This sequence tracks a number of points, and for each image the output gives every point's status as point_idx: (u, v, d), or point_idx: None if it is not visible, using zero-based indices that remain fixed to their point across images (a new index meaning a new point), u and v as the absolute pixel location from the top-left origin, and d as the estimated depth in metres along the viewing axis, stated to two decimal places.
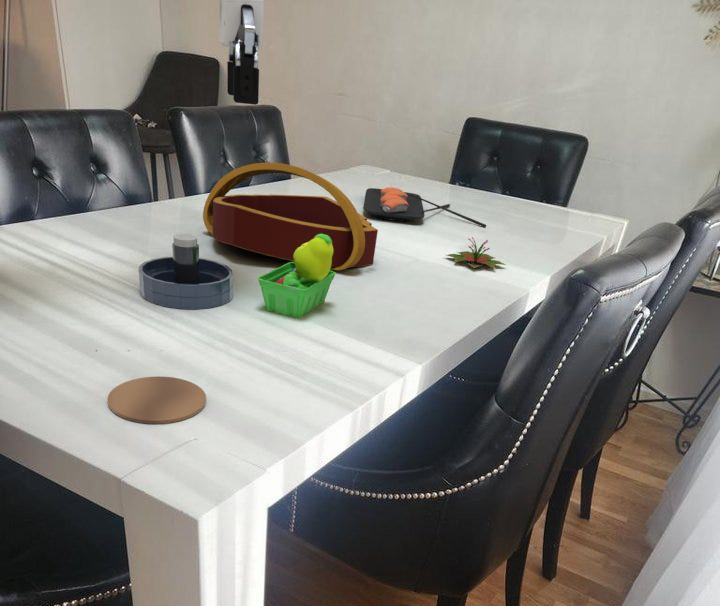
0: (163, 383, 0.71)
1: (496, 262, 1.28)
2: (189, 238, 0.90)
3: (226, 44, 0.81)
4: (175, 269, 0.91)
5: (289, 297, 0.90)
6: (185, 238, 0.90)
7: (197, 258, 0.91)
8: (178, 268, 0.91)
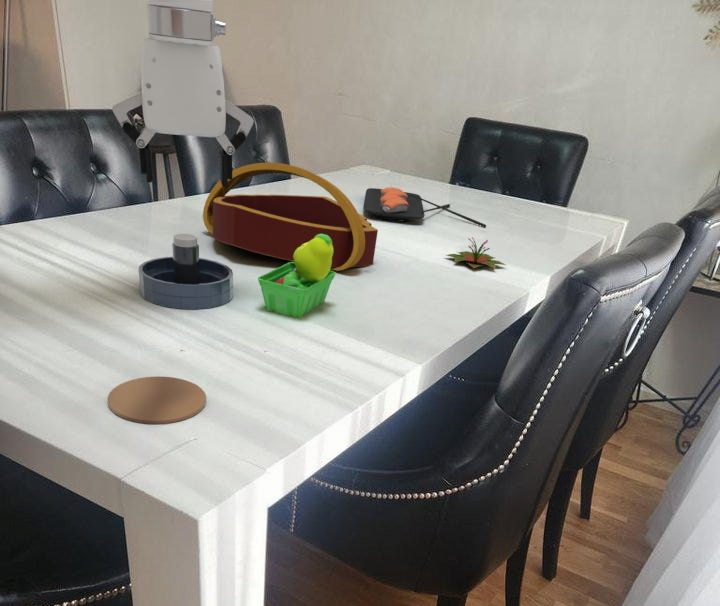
0: (163, 383, 0.71)
1: (496, 262, 1.28)
2: (189, 238, 0.90)
3: None
4: (175, 269, 0.91)
5: (289, 297, 0.90)
6: (185, 238, 0.90)
7: (197, 258, 0.91)
8: (178, 268, 0.91)
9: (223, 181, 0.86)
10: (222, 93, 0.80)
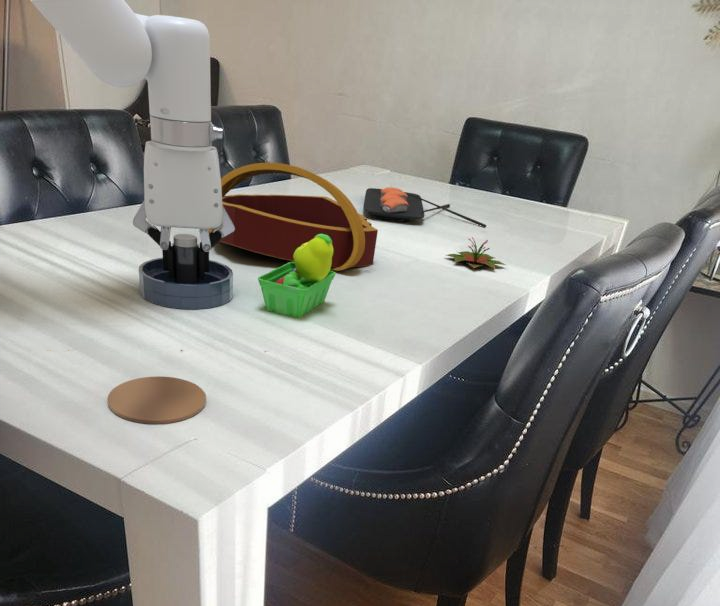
0: (163, 383, 0.71)
1: (496, 262, 1.28)
2: (189, 238, 0.90)
3: None
4: (175, 269, 0.91)
5: (289, 297, 0.90)
6: (185, 238, 0.90)
7: (197, 258, 0.91)
8: (178, 268, 0.91)
9: (200, 275, 0.92)
10: (219, 191, 0.86)
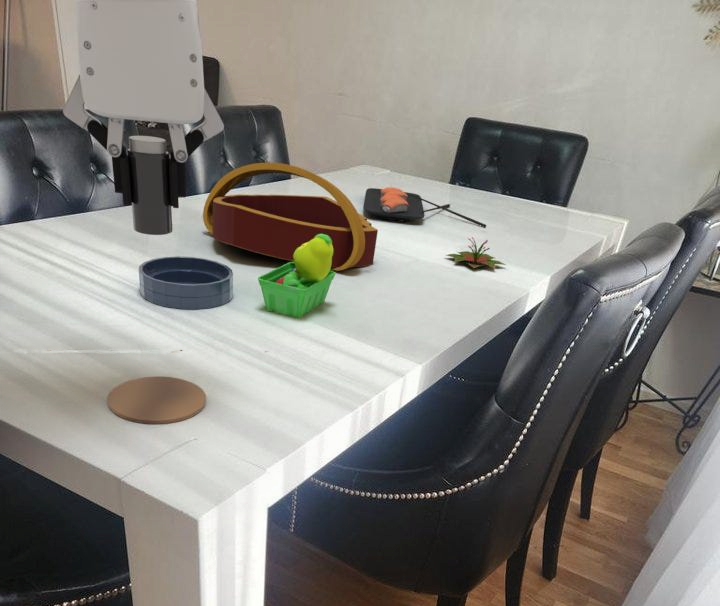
0: (163, 383, 0.71)
1: (496, 262, 1.28)
2: (153, 140, 0.58)
3: None
4: (133, 190, 0.60)
5: (289, 297, 0.90)
6: (146, 139, 0.58)
7: (166, 173, 0.60)
8: (137, 187, 0.59)
9: (172, 200, 0.61)
10: (198, 59, 0.55)
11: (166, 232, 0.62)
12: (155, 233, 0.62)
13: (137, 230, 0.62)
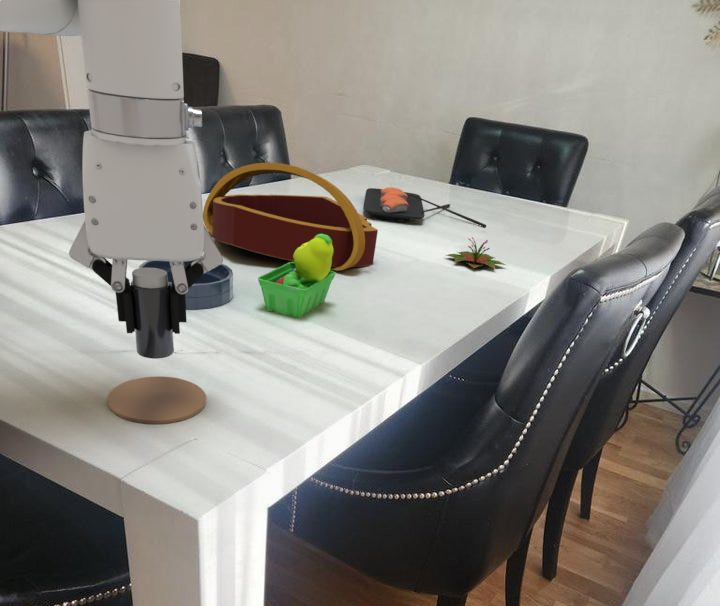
0: (163, 383, 0.71)
1: (496, 262, 1.28)
2: (155, 275, 0.61)
3: None
4: (136, 319, 0.62)
5: (289, 297, 0.90)
6: (149, 274, 0.61)
7: (168, 303, 0.62)
8: (140, 318, 0.62)
9: (173, 327, 0.63)
10: (198, 206, 0.57)
11: (168, 355, 0.65)
12: (157, 357, 0.64)
13: (140, 354, 0.64)
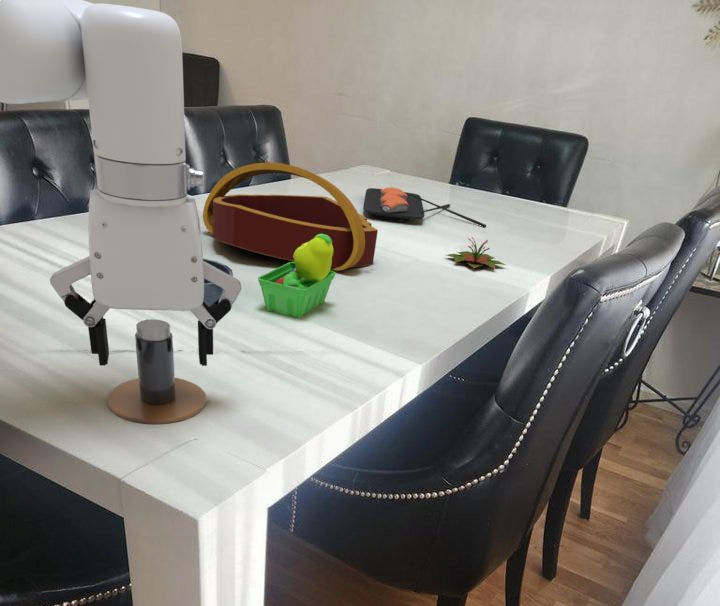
0: None
1: (496, 262, 1.28)
2: (158, 327, 0.64)
3: None
4: (140, 369, 0.65)
5: (289, 297, 0.90)
6: (152, 327, 0.64)
7: (170, 353, 0.65)
8: (144, 367, 0.65)
9: (201, 360, 0.66)
10: (199, 260, 0.60)
11: (170, 401, 0.68)
12: (160, 403, 0.67)
13: (143, 400, 0.67)
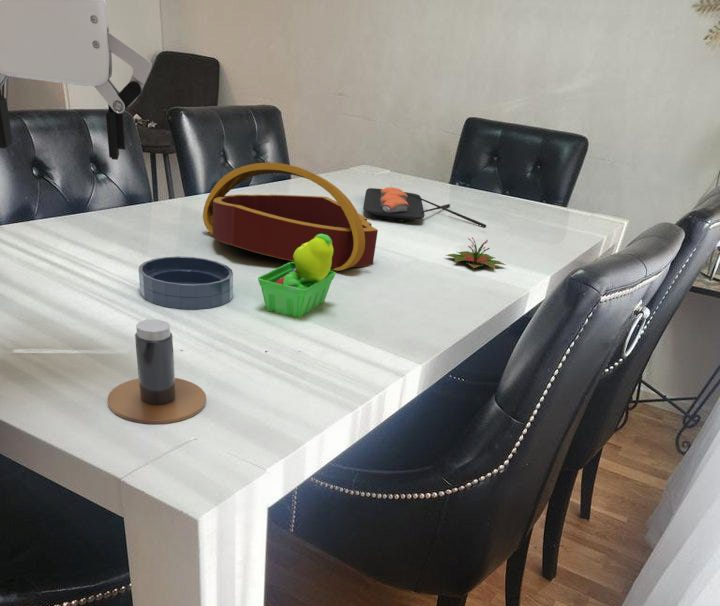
0: None
1: (496, 262, 1.28)
2: (158, 327, 0.64)
3: None
4: (140, 369, 0.65)
5: (289, 297, 0.90)
6: (152, 327, 0.64)
7: (170, 353, 0.65)
8: (144, 367, 0.65)
9: (110, 151, 0.62)
10: (100, 21, 0.56)
11: (170, 401, 0.68)
12: (160, 403, 0.67)
13: (143, 400, 0.67)
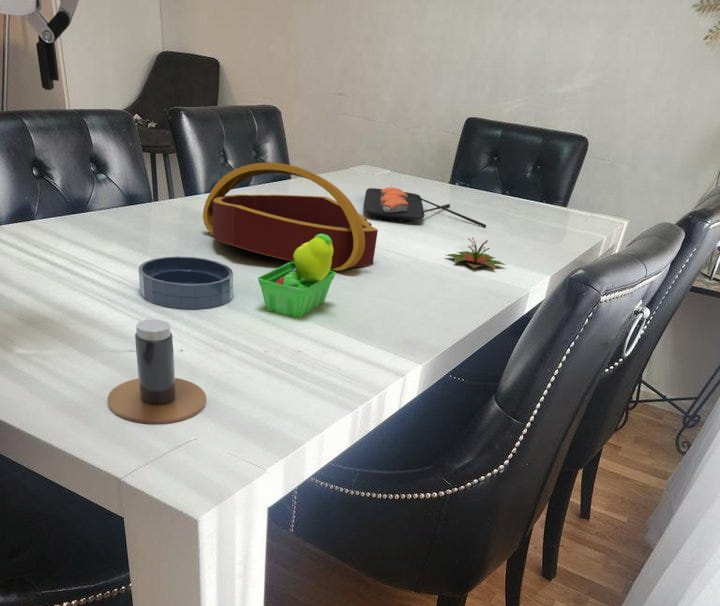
0: None
1: (496, 262, 1.28)
2: (158, 327, 0.64)
3: None
4: (140, 369, 0.65)
5: (289, 297, 0.90)
6: (152, 327, 0.64)
7: (170, 353, 0.65)
8: (144, 367, 0.65)
9: (42, 81, 0.64)
10: None
11: (170, 401, 0.68)
12: (160, 403, 0.67)
13: (143, 400, 0.67)
